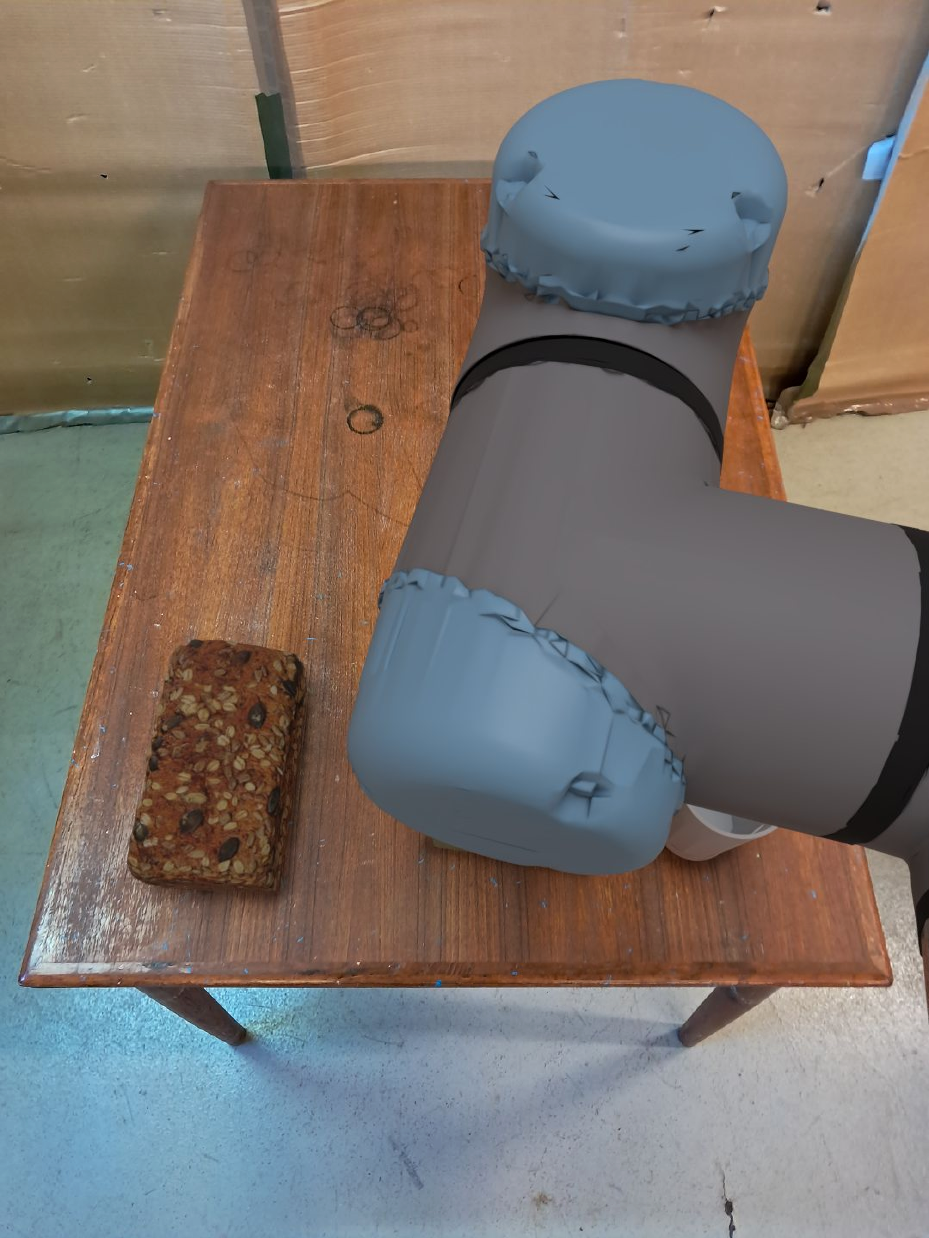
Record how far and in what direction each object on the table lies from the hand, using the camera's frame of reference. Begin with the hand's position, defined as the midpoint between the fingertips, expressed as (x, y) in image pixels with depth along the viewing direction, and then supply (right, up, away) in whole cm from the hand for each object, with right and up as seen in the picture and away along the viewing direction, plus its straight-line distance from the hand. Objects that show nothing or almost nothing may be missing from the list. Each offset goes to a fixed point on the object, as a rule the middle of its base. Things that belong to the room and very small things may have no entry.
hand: (529, 713), depth 54 cm
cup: (+15, -11, +14) cm, 23 cm away
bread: (-23, -8, +15) cm, 29 cm away
